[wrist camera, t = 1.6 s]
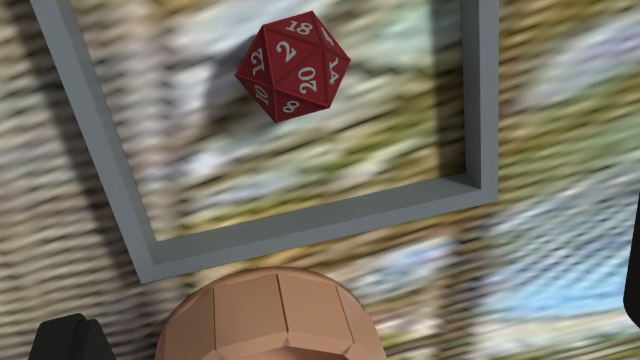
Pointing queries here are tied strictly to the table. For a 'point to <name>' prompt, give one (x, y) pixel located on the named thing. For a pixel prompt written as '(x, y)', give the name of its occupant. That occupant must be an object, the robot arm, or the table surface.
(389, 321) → the table surface
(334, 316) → the bowl
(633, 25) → the table surface
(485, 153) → the grey flat square frame
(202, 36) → the table surface
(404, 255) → the table surface
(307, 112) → the dice
